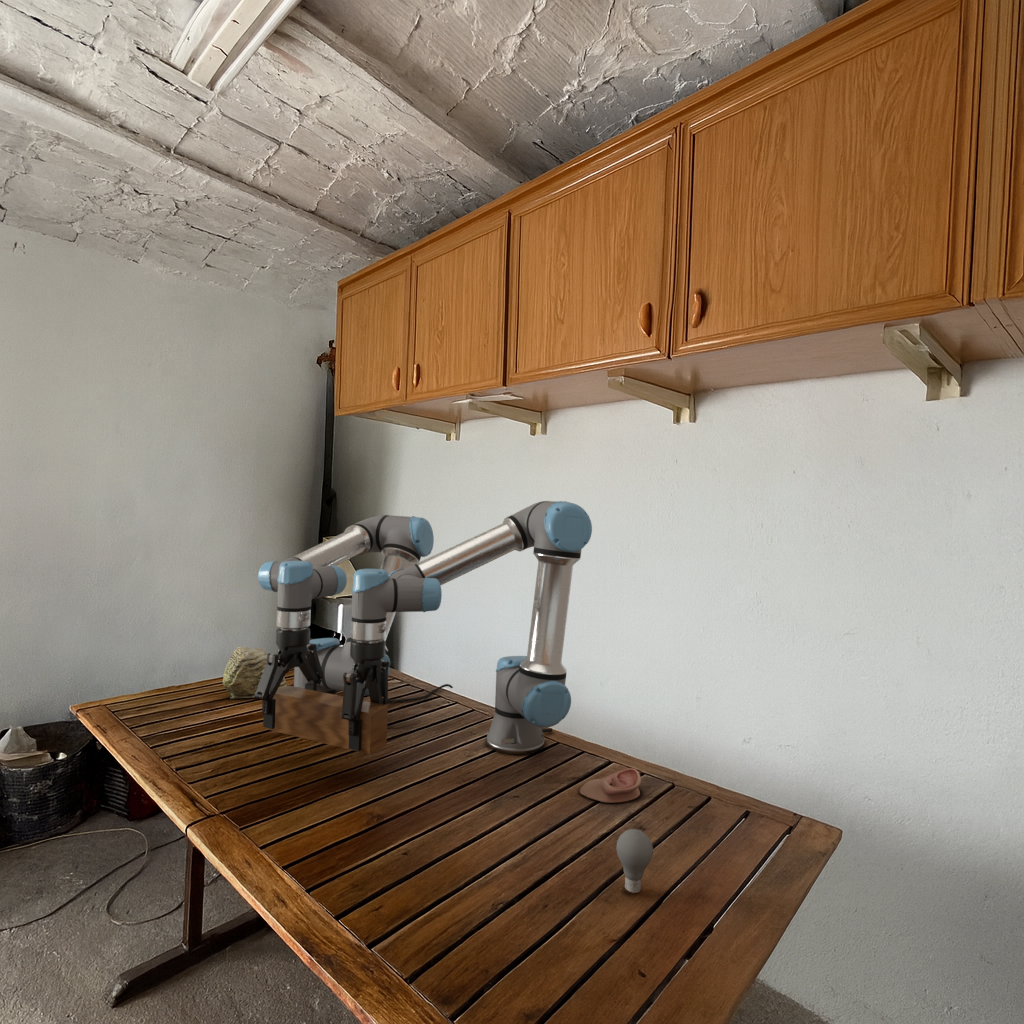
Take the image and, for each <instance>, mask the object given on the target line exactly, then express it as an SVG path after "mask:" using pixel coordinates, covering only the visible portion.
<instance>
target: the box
mask: <svg viewBox="0 0 1024 1024" xmlns="http://www.w3.org/2000/svg"><path fill="white" fill-rule="evenodd" d="M269 693H270V692H269ZM273 699H276V708H275V728H274V729H269V728H267V730H268V731H272V732H277V733H280V734H285V735H288V736H292V737H296V738H301V739H304V740H309V741H313V742H317V743H320V744H325V745H329V746H333V747H338V748H342V749H346V750H350V751H354V752H359V753H362V754H366V755H372V754H373V753H375V752H377V751H379V750H380V749H382V748H384V747H386V746H387V742H388V719H389V718H388V717H389V715H388V714H389V713H388V712H389V705H388V704H384V705H383V704H378V703H373V702H371V701H367V700H363V704H362V709H361V713H360V718H359V719H360V720H362V732H361V750H360V751H357V750H352V749H348V748H349V734H348V729H349V728H348V726H349V721H348V720H346V719H342V706H343V696H342V695H338V694H337V695H334V694H329V693H324V692H319V691H314V690H309V689H304V688H299V687H294V685H287V686H285V687H282V688H279V689H278V690H277V691H276V693H275V695H274V697H273Z"/></svg>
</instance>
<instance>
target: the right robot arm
mask: <svg viewBox="0 0 1024 1024" xmlns="http://www.w3.org/2000/svg"><path fill="white" fill-rule="evenodd" d="M592 524H593V523H592V520H591V518H590V515H589V514H588V513H587V511H586V510H585V509H584V507H582V506H580V505H579V504H576V503H574V502H571V501H566V500H565V501H563V500H561V501H560V500H559V501H557V500H555V501H554V500H553V501H552V500H542V501H538V502H535V503H533V504H531V505H529V506H526V507H525V508H522V509H521V510H519V511H516V512H514V513H513V514H510V515H508V516H506V517H505V518H504V519H503V521H502V523H501V524H499V525H496V526H495V527H492V528H490V529H488V530H486V531H484V532H482V533H479V534H477V535H475V536H473V537H471V538H469V539H467V540H464V541H462V542H460V543H458V544H456V545H454V546H452V547H449V548H447V549H445V550H443V551H440V552H438V553H436V554H434V555H432V556H430V557H428V558H425V559H423V560H422V561H421V560H420V561H419V563H417V564H415V565H413V566H410V567H408V568H406V569H400V570H395V571H393V572H391V573H390V574H389V575H388V572H387V571H386V570H383V569H380V568H360V569H357V570H356V571H355V572H354V574H353V579H352V580H353V581H352V582H353V583H352V589H351V621H350V636H351V638H352V639H353V640H352V641H351V646H350V656H351V658H352V659H353V660H354V665H353V668H352V671H351V672H349V673H344V674H343V679H344V692H343V693H342V694H343V706H342V719H346V720H348V721H349V726H348V728H349V729H348V734H349V748H348V749H347V750H349V749H352V750H351V751H354V750H357V751H356V752H358V751H360V750H361V732H362V720H360V719H359V718H360V713H361V709H362V704H363V701H365V696H366V695H365V691H366V689H367V688H368V690H369V695H368V696H369V700H370V701H369V702H373V703H378V704H383V705H388V703H389V702H388V700H389V676H388V668H389V667H390V666H389V662H388V661H382V660H381V659H382V658H383V657H384V656H385V646H386V644H387V643H386V641H384V640H383V639H384V638H385V637H386V615H387V612H396V613H416V612H417V613H418V612H422V613H426V612H435V611H438V610H439V608H440V607H441V603H442V597H443V595H442V593H443V592H442V591H443V590H442V586H443V585H445V584H447V583H450V581H454V580H455V579H458V578H459V577H461V576H464V575H467V574H468V573H470V572H472V571H474V570H476V569H478V568H480V567H482V566H485V565H487V564H489V563H491V562H493V561H495V560H497V559H499V558H502V557H503V556H506V555H507V554H509V553H512V552H513V551H517V552H523V551H525V550H527V549H529V548H533V551H532V552H533V553H532V554H533V555H534V557H535V559H537V571H536V577H535V579H536V580H535V587H534V594H533V595H534V596H533V604H532V611H531V612H532V613H531V620H530V628H529V637H528V644H527V653H526V655H507V656H503V657H500V658H499V659H498V660H497V663H496V669H495V674H496V675H495V698H494V699H495V701H494V714H493V718H492V720H491V724H490V726H489V729H488V731H487V734H486V745H487V746H488V748H490V749H491V750H493V751H496V752H498V753H502V754H507V755H531V754H534V753H537V752H539V751H541V750H543V749H544V747H545V735H544V733H552V732H553V731H554V730H553V728H552V727H554V726H556V725H558V724H560V722H562V720H564V719H565V718H566V717H567V715H568V714H569V712H570V709H571V706H572V695H571V692H570V690H569V688H568V687H567V686H566V680H567V669H566V667H565V665H564V664H563V661H562V660H563V653H564V646H565V645H564V643H565V637H566V629H567V619H568V613H569V611H568V610H569V603H570V595H571V586H572V580H573V579H572V578H573V571H574V565H576V564H577V563H578V562H579V561H580V560H581V556H582V549H583V548H585V547H586V545H588V543H589V542H590V540H591V537H592V533H593V525H592ZM358 682H359V683H364V684H359V683H358Z"/></svg>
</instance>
